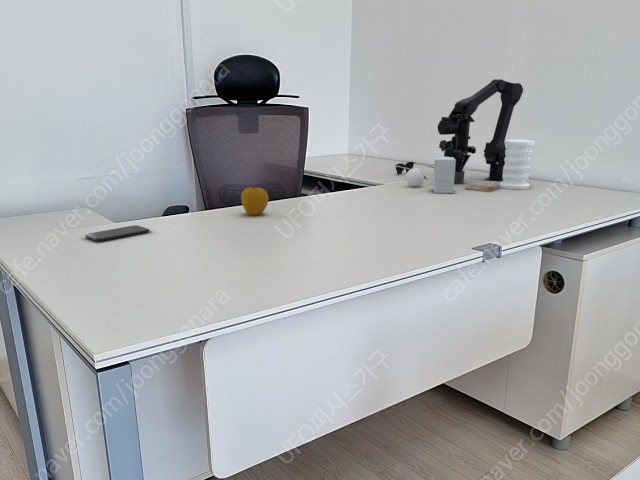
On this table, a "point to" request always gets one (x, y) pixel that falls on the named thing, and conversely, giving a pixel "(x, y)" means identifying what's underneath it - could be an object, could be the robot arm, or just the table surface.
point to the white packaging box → (444, 174)
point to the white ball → (415, 177)
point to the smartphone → (117, 233)
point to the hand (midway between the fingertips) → (458, 172)
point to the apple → (254, 200)
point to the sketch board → (482, 188)
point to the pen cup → (459, 177)
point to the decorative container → (517, 164)
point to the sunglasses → (406, 167)
